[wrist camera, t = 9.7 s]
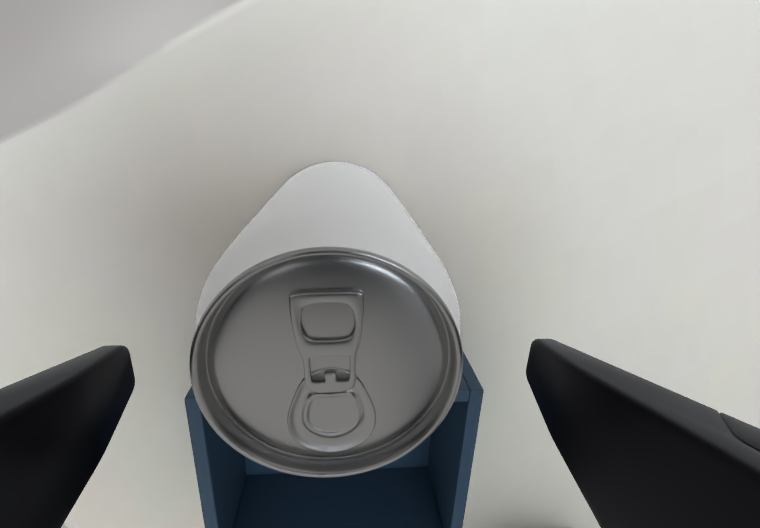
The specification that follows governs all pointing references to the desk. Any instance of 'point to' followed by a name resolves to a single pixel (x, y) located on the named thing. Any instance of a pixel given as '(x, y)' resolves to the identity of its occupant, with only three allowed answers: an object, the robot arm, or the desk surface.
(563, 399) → the robot arm
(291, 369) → the can
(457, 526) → the bin
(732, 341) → the desk surface
